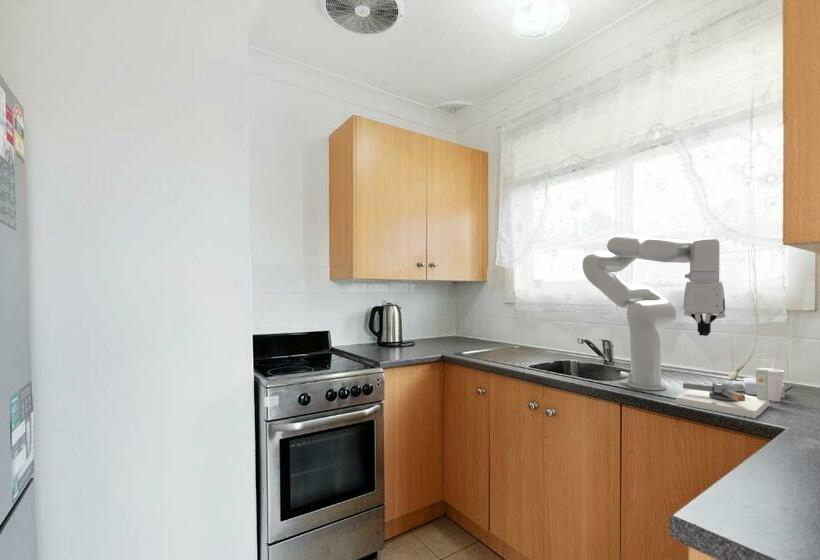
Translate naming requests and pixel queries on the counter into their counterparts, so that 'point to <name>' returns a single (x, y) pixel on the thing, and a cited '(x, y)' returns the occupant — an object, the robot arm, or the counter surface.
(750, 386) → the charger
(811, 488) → the counter surface
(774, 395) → the smoothie
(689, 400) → the stand
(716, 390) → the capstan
